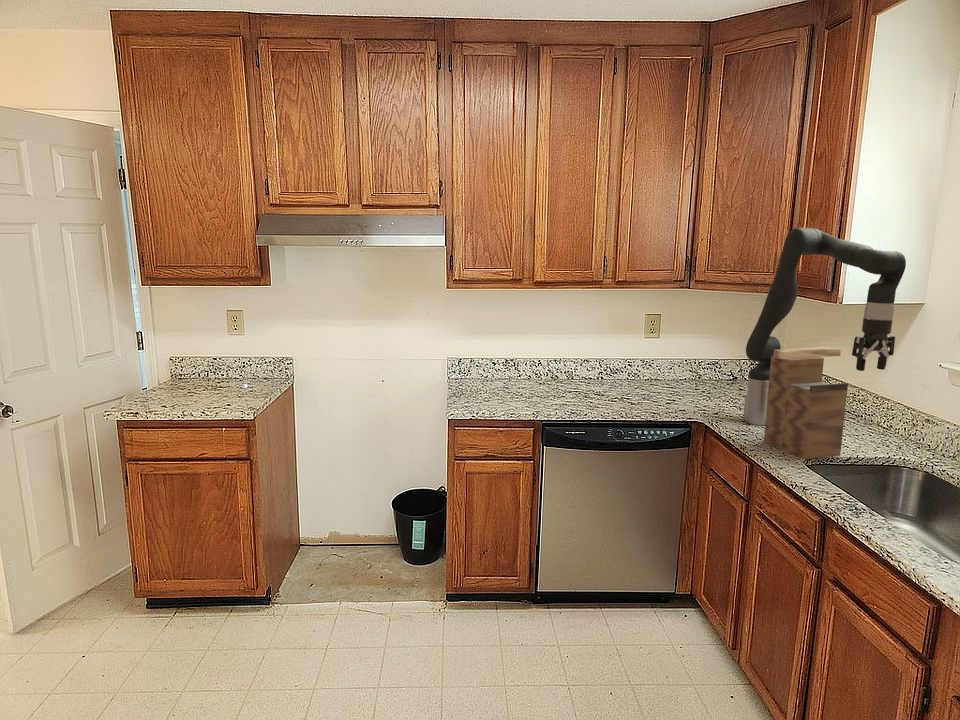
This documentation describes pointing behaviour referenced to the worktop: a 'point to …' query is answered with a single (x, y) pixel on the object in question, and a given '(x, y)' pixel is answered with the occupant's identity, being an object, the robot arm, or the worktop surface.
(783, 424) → the stepped shelf
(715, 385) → the worktop surface
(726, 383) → the worktop surface
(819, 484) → the worktop surface
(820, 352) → the birch plank
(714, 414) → the worktop surface
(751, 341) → the robot arm
